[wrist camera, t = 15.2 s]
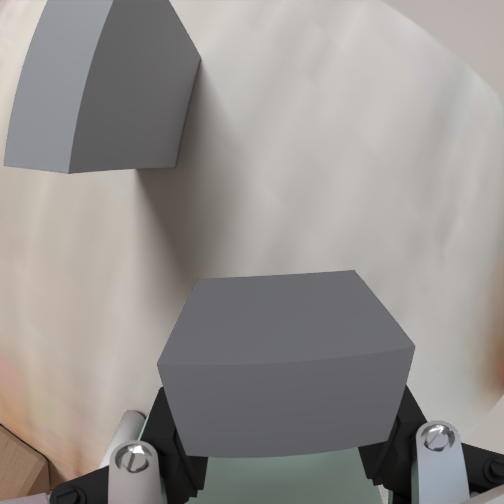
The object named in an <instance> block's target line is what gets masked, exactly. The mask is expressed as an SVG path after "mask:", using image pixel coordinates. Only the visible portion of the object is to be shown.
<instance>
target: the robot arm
mask: <svg viewBox="0 0 504 504" xmlns="http://www.w3.org/2000/svg"><path fill="white" fill-rule="evenodd" d="M358 450H359V454H360V457H361V461H362V464H363V468H364V471H365V475H366V478H367V479H372V482H373V485H374V486H377V485H381V484H383V485H384V488H386V489H388V490H389V494H388V504H504V455H503V454H499V453H496V452H492V451H488V450H485V449H481V448H478V447H474V446H471V445H468V444H464V443H461V441H460V436H459V434H458V431H457V430H456V429H455V427H454V426H452V425H451V424H449V423H447V422H444V421H431V422H427V420H426V418H425V417H424V415H423V413H422V411H421V409H420V408H419V406H418V404H417V402H416V400H415V399H414V397H413V395H412V393H411V392H410V390H409V388H408V387H407V385H405V389H404V392H403V396H402V399H401V402H400V406H399V409H398V412H397V415H396V418H395V421H394V424H393V427H392V429H391V432H390V435H389V438H388V440H387V441H384V442H380V443H375V444H370V445H365V446H360V447H358ZM208 458H209V457H203V456H188V455H186V453H185V450H184V448H183V445H182V442H181V439H180V437H179V434H178V431H177V428H176V425H175V422H174V419H173V416H172V413H171V410H170V407H169V404H168V401H167V397H166V394H165V391H164V387H161V388H160V390H159V392H158V394H157V397H156V399H155V402H154V404H153V407H152V409H151V412H150V414H149V417H148V420H147V422H146V425H145V427H144V430H143V433H142V435H141V438H140V441H135V440H133V441H127V442H124V443H122V444H120V445H118V446H117V447H116V448H115V449H114V450H113V452H112V453H111V456H110V463H109V465H107V466H105V467H103V468H100V469H98V470H96V471H93V472H91V473H88V474H86V475H83V476H81V477H78V478H76V479H73V480H70V481H68V482H65V483H62V484H60V485H58V486H57V487H56V488H55V489H54V490H53V491H52V493H51V495H46V494H45V493H41V494H37V495H32V496H26V497H21V498H15V499H9V500H3V501H0V504H185V503H186V502H188V501H189V498H190V497H194V498H197V493H198V490H203V489H204V484H205V477H206V471H207V464H208Z"/></svg>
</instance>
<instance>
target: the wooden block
mask: <svg viewBox="0 0 504 504" xmlns="http://www.w3.org/2000/svg"><path fill="white" fill-rule="evenodd" d="M49 492H50V481H49V472H48V461H47V460H46V459H45V458H44V457H43V456H42V455H41V454H39V453H38V452H36V451H35V450H33V449H32V448H30V447H29V446H27V445H26V444H25V443H23V442H22V441H20V440H19V439H18V438H16V437H15V436H14V435H12V434H11V433H10V432H8V431H7V430H6V429H5V428H3V427H2V426H1V425H0V501H3V500H9V499H15V498H21V497H26V496H32V495H37V494H41V493H45V494H46V495H48V494H49Z"/></svg>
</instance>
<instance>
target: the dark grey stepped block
mask: <svg viewBox="0 0 504 504" xmlns="http://www.w3.org/2000/svg"><path fill="white" fill-rule="evenodd" d="M414 350H415V345H414V344H413V342H412V341H411V340H410V338H409V337H408V336H407V334H406V333H405V332H404V331H403V329H402V328H401V327H400V325H399V324H398V323H397V322H396V320H395V319H394V318H393V317H392V315H391V314H390V313H389V312H388V310H387V309H386V308H385V307H384V305H383V304H382V303H381V302H380V300H379V299H378V298H377V297H376V296H375V294H374V293H373V292H372V291H371V290H370V288H369V287H368V286H367V285H366V284H365V282H364V281H363V280H362V279H361V278H360V276H359V275H358V274H357V273H356V272H355V270H350V271H336V272H321V273H306V274H290V275H272V276H254V277H235V278H213V279H198V280H197V282H196V284H195V286H194V288H193V290H192V292H191V294H190V296H189V298H188V300H187V302H186V304H185V306H184V308H183V310H182V312H181V314H180V316H179V318H178V320H177V322H176V324H175V326H174V329H173V331H172V333H171V335H170V337H169V339H168V341H167V343H166V345H165V347H164V350H163V352H162V354H161V356H160V358H159V360H158V362H157V366H158V370H159V374H160V377H161V381H162V384H163V387H164V391H165V394H166V397H167V401H168V404H169V407H170V410H171V413H172V416H173V419H174V422H175V425H176V428H177V431H178V434H179V437H180V439H181V442H182V445H183V448H184V450H185V453H186V455H188V456H203V457H215V458H263V457H283V456H296V455H307V454H316V453H324V452H332V451H339V450H345V449H351V448H354V447H360V446H365V445H370V444H375V443H380V442H384V441H387V440H388V438H389V435H390V432H391V429H392V427H393V424H394V421H395V418H396V415H397V412H398V409H399V406H400V402H401V399H402V396H403V392H404V389H405V385H406V382H407V378H408V374H409V371H410V367H411V363H412V359H413V355H414Z"/></svg>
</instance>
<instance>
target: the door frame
mask: <svg viewBox="0 0 504 504" xmlns="http://www.w3.org/2000/svg"><path fill="white" fill-rule="evenodd" d="M200 58H201V56H200V55H199V53H198V51H197V49H196V47H195V45H194V44H193V42H192V40H191V38H190V36H189V35H188V33H187V31H186V29H185V28H184V26H183V24H182V22H181V21H180V19H179V17H178V15H177V14H176V12H175V10H174V8H173V7H172V5H171V3H170V2H169V0H48V1H47V3H46V5H45V7H44V10H43V12H42V14H41V17H40V19H39V22H38V24H37V27H36V29H35V32H34V35H33V37H32V40H31V43H30V46H29V49H28V52H27V55H26V58H25V61H24V65H23V68H22V71H21V75H20V79H19V82H18V86H17V90H16V95H15V99H14V103H13V108H12V113H11V118H10V123H9V129H8V135H7V142H6V149H5V157H4V166H8V167H17V168H26V169H34V170H43V171H50V172H58V173H66V174H72V173H82V172H94V171H107V170H123V169H142V168H169V167H176V162H177V157H178V152H179V147H180V142H181V137H182V132H183V128H184V123H185V119H186V114H187V110H188V105H189V101H190V97H191V93H192V89H193V85H194V81H195V77H196V73H197V69H198V66H199V62H200Z"/></svg>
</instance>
